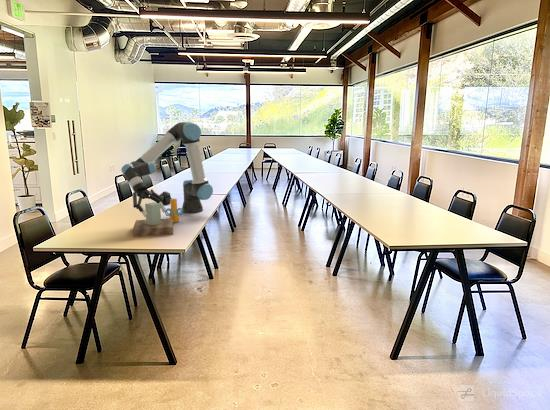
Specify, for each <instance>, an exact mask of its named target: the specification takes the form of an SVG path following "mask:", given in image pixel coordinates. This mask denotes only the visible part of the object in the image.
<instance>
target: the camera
mask: <svg viewBox="0 0 550 410" xmlns="http://www.w3.org/2000/svg"><path fill="white" fill-rule="evenodd" d="M158 195H159V196H160V197H162V198H163V199H164V200H163V202H162V203H163V204H164V205H167V204H171V203H170V199H173V198H172V196H171V192H168V191H166V190H165V191H162V192H161V193H160V194H158ZM155 203H157V202H155Z"/></svg>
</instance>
